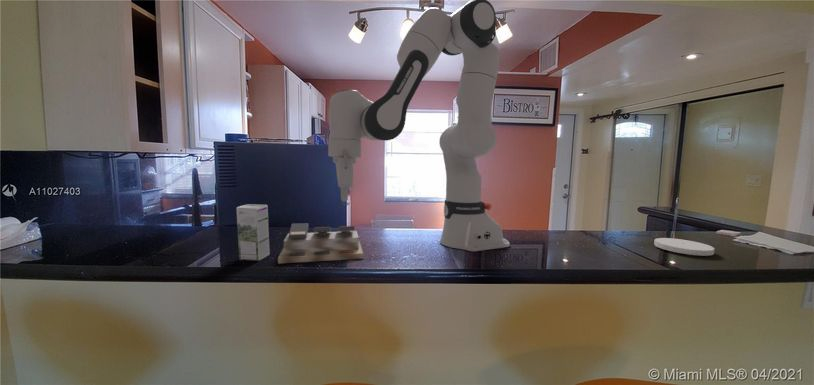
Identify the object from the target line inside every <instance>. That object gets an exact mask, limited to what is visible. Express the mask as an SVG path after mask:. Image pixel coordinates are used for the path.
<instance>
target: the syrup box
mask: <svg viewBox="0 0 814 385" xmlns="http://www.w3.org/2000/svg"><path fill="white" fill-rule="evenodd" d="M236 226H237V241H238V242H237V243H238V258H239V261H255V262H258V261H261V260H263V259H265V258H267V257H268V256H270V254H271V253H270V252H271V251H270V237H269V235H270V232H269V229H270V228H269V207H268V204H256V203H255V204H254V203H253V204H252V203H251V204H250V203H249V204H247V203H246V204H243V205H240V206H237V207H236Z"/></svg>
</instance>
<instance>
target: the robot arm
mask: <svg viewBox="0 0 814 385" xmlns="http://www.w3.org/2000/svg"><path fill="white" fill-rule="evenodd" d="M495 10H496V9H495V8H494V6H493V4H492V3H491V2H490V1H488V0H469V1H468V2H466V3H465V4H464V5H463V6H462V7H460V8H458V9H456V11H455V12H453V13H452V14H451V15H448V14H447V13H446V11H444V10H442V9H441V8H438V7H430V8H427V9H426V10H424V11H423V12H422V13H421V15H420V16H419V17H418V18H417V19H416V20H415V22H414V23H412V26H411V27H410V28H409V30H408V32H407V33H406V34H405V37H404V38H403V40H402V42H401V44H400V47H399V49H398V52H397V55H396V61H397V63H398V65H399V70H398V71H397V73H396V75H395V77H394V79H393V81H392V82H391V84H390V86H389V88H388V89H387V91H386V93H385V94H383V96H382V97H380V98H378V99H377V100H375V101H371V100H369V99H368V98H366V97H365V96H364V95H362V93H360V92H359V90H356V89H343V90H338V91H336V92H335V93H333V94H332V95H331V97H330V99H329V103H328V104H329V105H328V106H329V107H328V126H329V134H328V139H327V141H328V143H327V144H328V145H327V146H328V147H327V148H328V149H327V150H328V151H327V152H328V153H327V154H328V157H332V163H334V164H335V168H336V169H335V170H336V178H337V179H336V180H337V185H338V188H340V200H341V202H348V201H349V200H348V199H349V188H353V185H354V164H357V158H362V138H365V139H367V140H371V141H392V140H394V139H395V138H397V137H398V136H400V134H401V133H402V132H403V130H404V128H405V125H406V119H407V111H408V107H409V105H410V102H411V101H412V99H413V97H414V95H415V94H416V91H417V89H418V88H419V86H420V84H421V82H422V80H423V78H424V77H425V76H426V75H427V74H428V73H429V72H430V71H431V69H432V68H433V67H434V66H435V64H436V62H437V61H438V59H439V57H440V55H441V53H442V54H444V55H446V56H451V57H452V56H457V55H460V54H462V58H463V67H462V69H461V75H460V79H459V84H458V87H457V88H458V89H457V92H456V98H455V102H456V105H457V110H458V111H457V116H458V117H457V123H456V124H453V125H450V126H448V127H447V128H446V129H445V130H444V131H443V132H441V135H440V137H439V142H438V143H439V148H440V149H441V151H442V154H443V160H444V161H443V162H444V168H445V176H446V184H445V185H446V187H445V188H446V189H445V190H446V191H445V200H444V205H443V216H444V220H443V221H444V222H443V228H442V233H441V235H440V239H439V243H440V244H441V245H443V246H445V247H448V248H451V249H452V248H453V249H459V250H464V251H469V252H479V251H487V250H495V249H503V248H509V247H510V244H511V243H510V241H509V240H508V239H507V238H505V237H504V236H503V234H504V233H503V229H502V226H501V225H500V224H499V222H498V221H496V220H494V219H493V218H492V217H491V215H489V214H488V213H486V210H487V211H490V210H491V209H492V206H493V205H492V204H491V203H489V202H483V201H481V200H482V199H481V198H482V196H481V195H482V175H481V174H480V172H479V169H478V166H477V162H476V159H478V158H480V157H483V156H485V155H487V154H489V153H490V152H492V151H493V149H494V148H495V146H496V144H497V139H498V138H497V136H498V135H497V132H496V129H495V127H494V126H493V123H492V102H493V99H494V95H495V90H496V89H495V88H496V84H497V79H498V74H499V66H500V65H499V64H500V52H499V49H498V48H499V47H497V46H496V45H495V43H492V42H493V41H494V39H495V38H496V35H497V32H496V28H497V15H496V11H495Z"/></svg>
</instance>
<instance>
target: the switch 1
mask: <svg viewBox="0 0 814 385" xmlns="http://www.w3.org/2000/svg"><path fill="white" fill-rule="evenodd" d="M308 231H309V223H307V222H306V223H305V222H304V223H303V222H301V223H297V222H296V223H291V226H290V229H289V232H288V234H289V239H295V238H307V233H309V232H308Z"/></svg>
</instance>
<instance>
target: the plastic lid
mask: <svg viewBox="0 0 814 385" xmlns="http://www.w3.org/2000/svg"><path fill="white" fill-rule="evenodd" d="M653 241H654V242H653V245H654V246H655V247H657V248H659V249H662V250H666V251H669V252H673V253H678V254H683V255H684V254H685V255H689V256H690V255H691V256H699V257H701V256H702V257H703V256H705V257H708V256H713V255H714V254H715V247H713V246H711V245H709V244H706V243H702V242H699V241H694V240H688V239H687V240H686V239H681V238H671V237H670V238H669V237H659V238H655V239H654V240H653Z"/></svg>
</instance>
